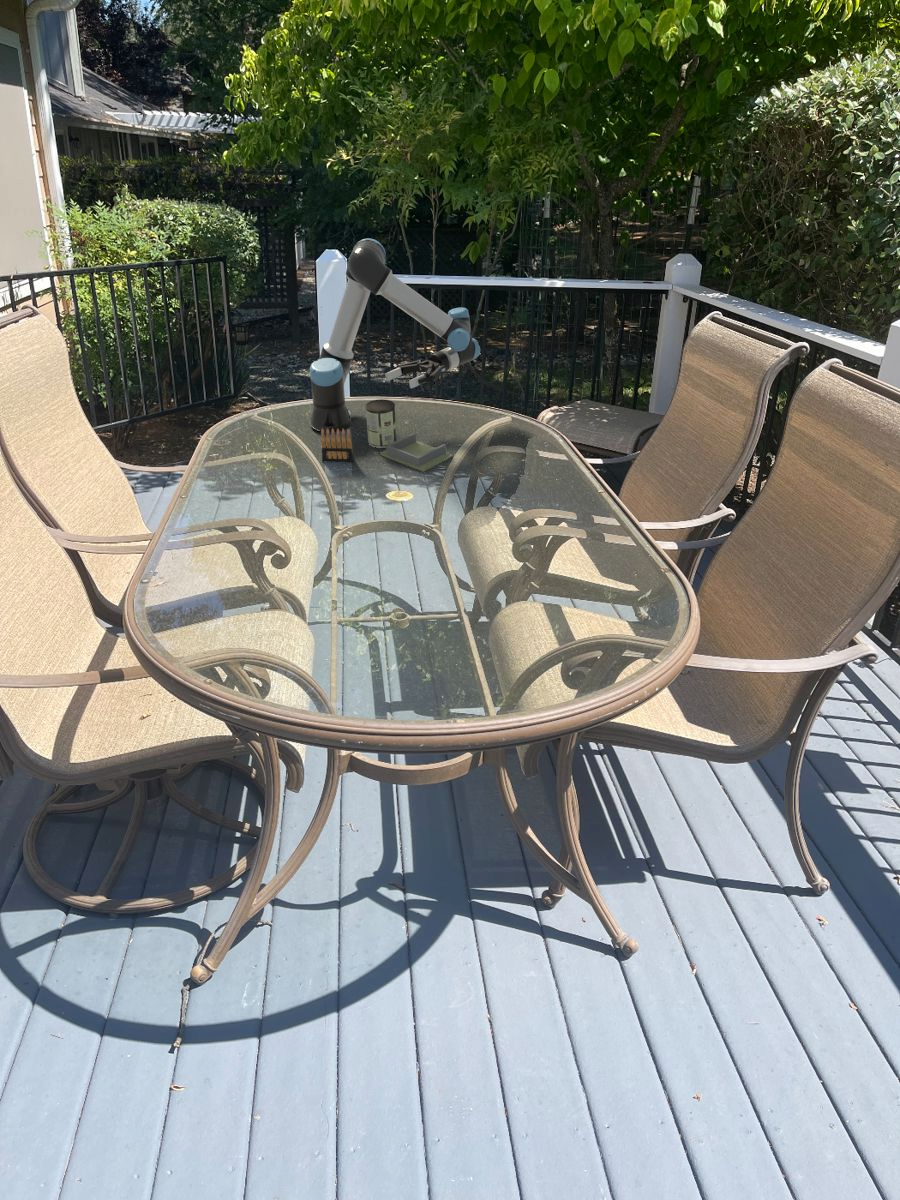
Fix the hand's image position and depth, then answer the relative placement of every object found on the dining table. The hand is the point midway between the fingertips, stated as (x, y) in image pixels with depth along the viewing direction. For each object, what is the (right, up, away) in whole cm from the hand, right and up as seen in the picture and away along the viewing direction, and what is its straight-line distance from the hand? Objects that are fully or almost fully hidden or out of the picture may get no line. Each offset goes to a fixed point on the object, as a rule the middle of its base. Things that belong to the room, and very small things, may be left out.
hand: (397, 380), depth 308 cm
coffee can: (-6, -20, +6) cm, 22 cm away
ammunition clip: (-20, -29, -6) cm, 36 cm away
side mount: (+7, -27, -3) cm, 28 cm away
